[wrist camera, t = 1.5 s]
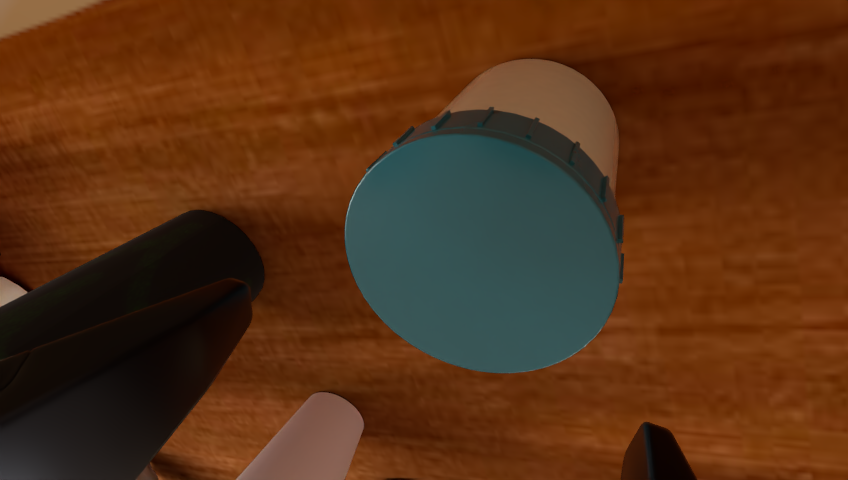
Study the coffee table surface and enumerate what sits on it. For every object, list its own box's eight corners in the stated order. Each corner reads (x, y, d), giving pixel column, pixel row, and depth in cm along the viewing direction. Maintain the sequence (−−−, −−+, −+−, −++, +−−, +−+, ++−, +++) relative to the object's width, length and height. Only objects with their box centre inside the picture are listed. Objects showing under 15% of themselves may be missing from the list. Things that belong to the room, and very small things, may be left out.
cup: (199, 161, 24) (-95, 328, 14) (310, 284, 26) (113, 507, 16) (133, 234, 28) (-128, 399, 19) (231, 335, 30) (38, 534, 20)
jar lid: (669, 146, 11) (673, 180, 10) (578, 362, 15) (571, 408, 13) (379, 78, 12) (347, 99, 11) (363, 291, 16) (338, 326, 15)
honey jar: (646, 80, 16) (650, 179, 10) (588, 240, 19) (566, 383, 14) (461, 41, 17) (368, 108, 11) (436, 197, 21) (355, 311, 15)
